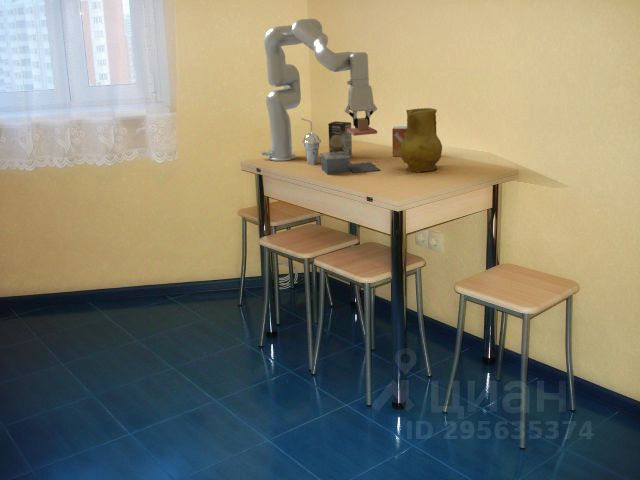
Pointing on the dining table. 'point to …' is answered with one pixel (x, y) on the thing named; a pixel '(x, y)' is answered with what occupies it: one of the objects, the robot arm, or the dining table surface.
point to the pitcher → (421, 140)
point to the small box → (398, 139)
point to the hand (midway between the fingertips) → (361, 126)
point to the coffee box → (340, 137)
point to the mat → (363, 167)
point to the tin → (335, 162)
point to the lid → (362, 128)
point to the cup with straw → (311, 146)
